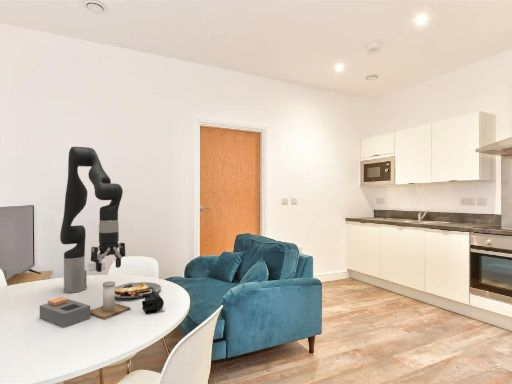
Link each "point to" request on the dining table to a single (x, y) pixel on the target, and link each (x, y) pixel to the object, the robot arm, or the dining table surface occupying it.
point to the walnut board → (107, 314)
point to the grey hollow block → (65, 313)
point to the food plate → (135, 289)
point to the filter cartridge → (108, 296)
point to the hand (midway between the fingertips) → (108, 269)
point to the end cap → (152, 302)
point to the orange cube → (58, 301)
